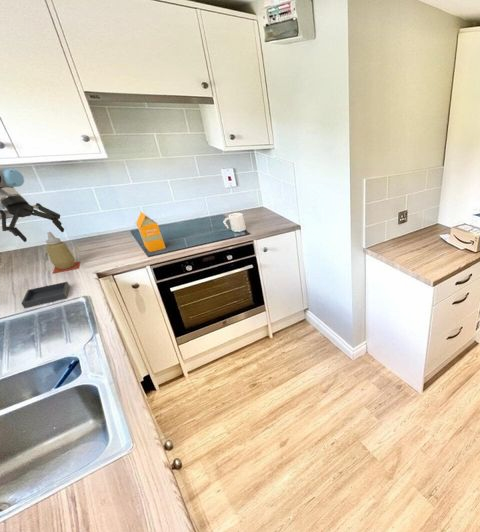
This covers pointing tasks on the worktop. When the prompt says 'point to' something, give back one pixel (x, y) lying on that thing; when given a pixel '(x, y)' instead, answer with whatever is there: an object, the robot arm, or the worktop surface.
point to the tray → (46, 294)
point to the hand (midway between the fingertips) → (45, 235)
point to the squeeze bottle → (59, 253)
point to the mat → (67, 268)
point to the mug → (236, 222)
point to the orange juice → (150, 233)
